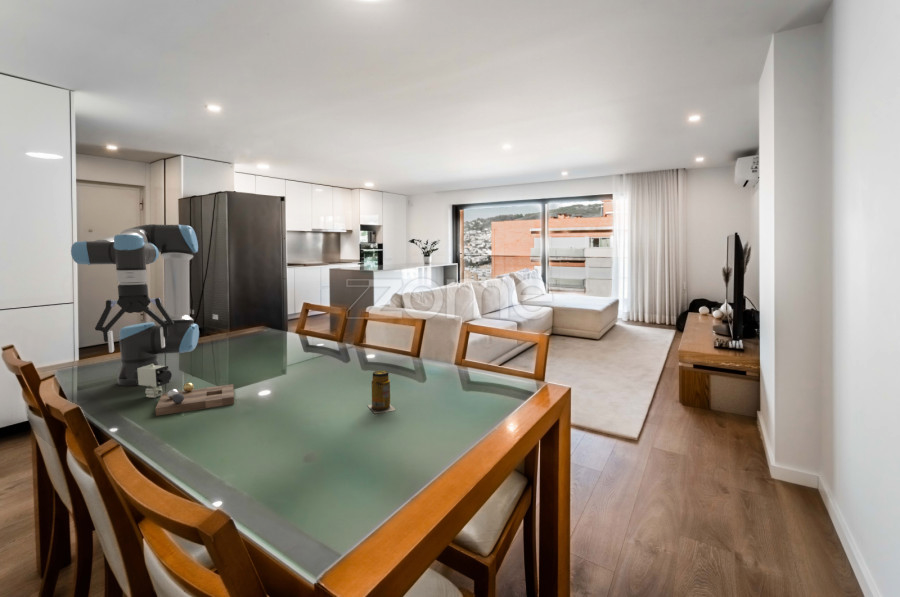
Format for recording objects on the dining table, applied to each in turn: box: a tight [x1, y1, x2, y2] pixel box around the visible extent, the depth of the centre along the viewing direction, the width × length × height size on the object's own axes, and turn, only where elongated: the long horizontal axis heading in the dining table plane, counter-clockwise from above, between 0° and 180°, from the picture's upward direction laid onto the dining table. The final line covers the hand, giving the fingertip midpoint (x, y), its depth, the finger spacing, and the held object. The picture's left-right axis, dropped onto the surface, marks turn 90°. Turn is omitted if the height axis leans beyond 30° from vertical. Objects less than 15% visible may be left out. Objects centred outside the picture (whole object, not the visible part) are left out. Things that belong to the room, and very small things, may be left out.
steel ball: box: [166, 388, 179, 399], centre depth 139 cm, size 3×3×3 cm
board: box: [155, 383, 235, 417], centre depth 142 cm, size 16×22×2 cm
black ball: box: [172, 393, 184, 403], centre depth 134 cm, size 3×3×3 cm
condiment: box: [367, 369, 396, 414], centre depth 136 cm, size 7×8×12 cm
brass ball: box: [182, 382, 195, 392], centre depth 146 cm, size 3×3×3 cm
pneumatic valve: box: [134, 364, 172, 399], centre depth 148 cm, size 6×12×12 cm, turn 78°
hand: (138, 349), depth 133 cm, fingers open, 13 cm apart
